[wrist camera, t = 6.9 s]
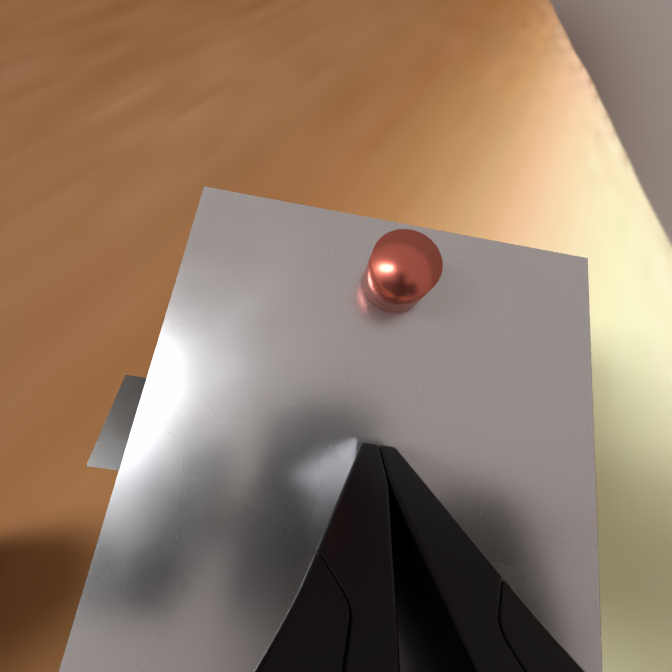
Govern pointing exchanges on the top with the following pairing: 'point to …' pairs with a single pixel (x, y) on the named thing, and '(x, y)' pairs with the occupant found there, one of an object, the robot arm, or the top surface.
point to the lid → (342, 427)
